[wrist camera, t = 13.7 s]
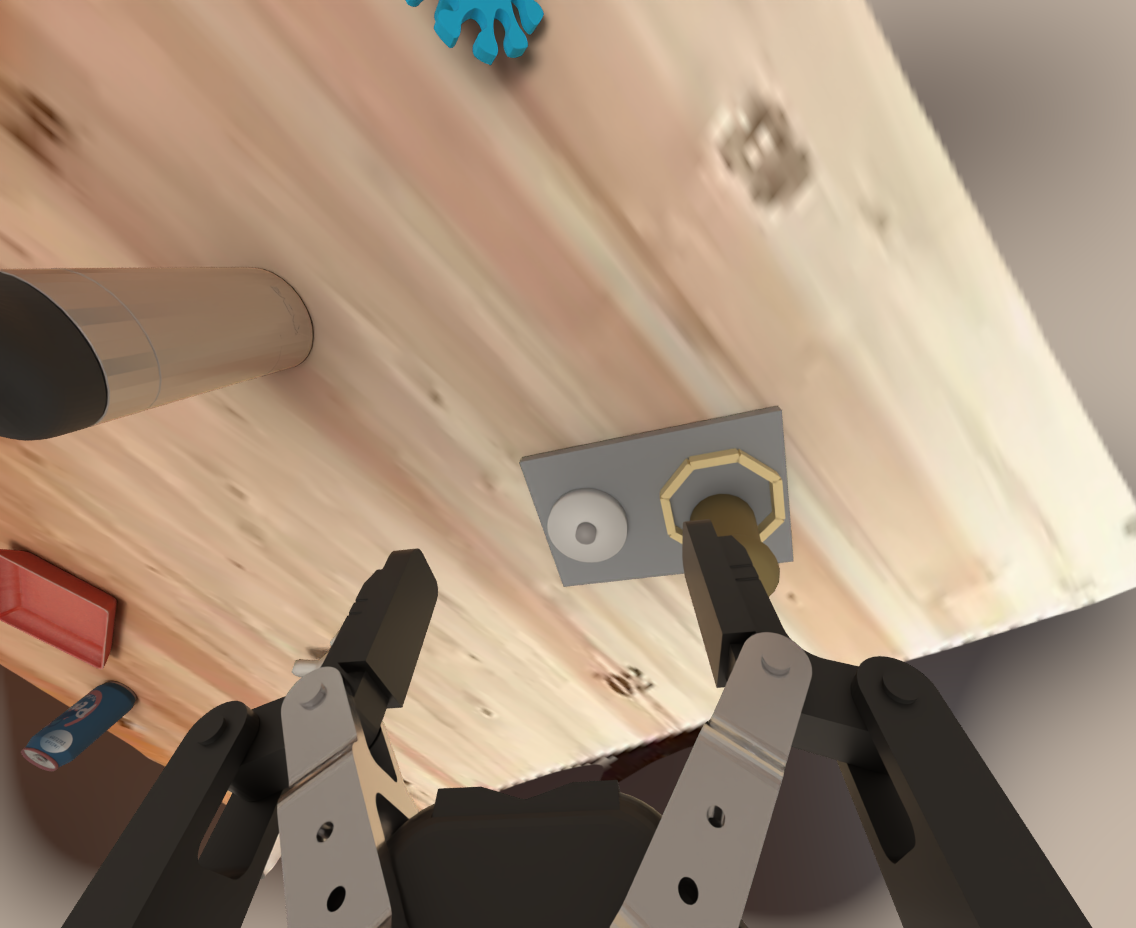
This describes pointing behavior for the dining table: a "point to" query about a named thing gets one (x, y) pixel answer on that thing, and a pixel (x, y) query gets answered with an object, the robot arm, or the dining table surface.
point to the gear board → (657, 494)
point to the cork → (740, 533)
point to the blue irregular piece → (486, 24)
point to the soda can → (79, 726)
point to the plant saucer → (56, 607)
